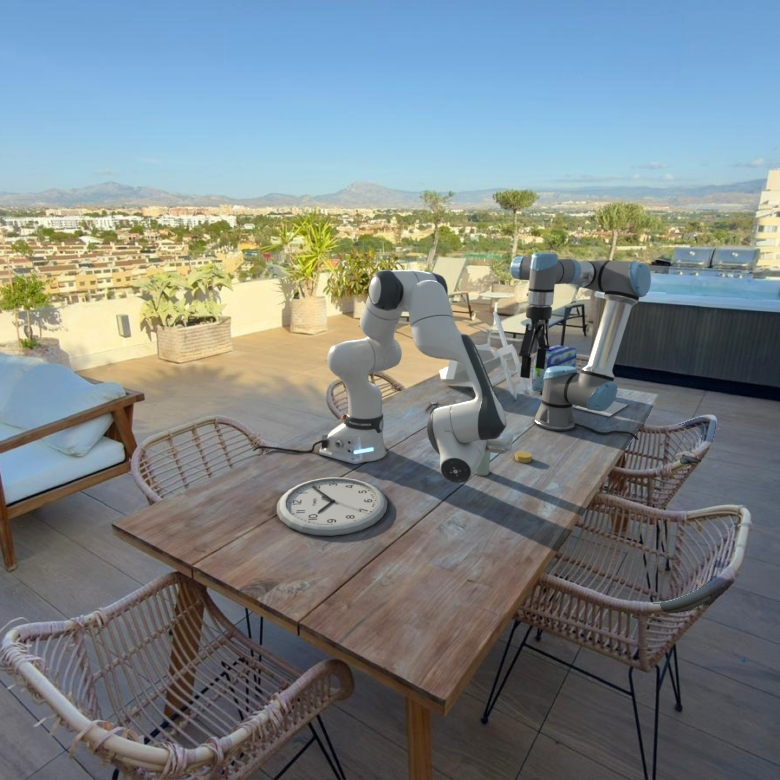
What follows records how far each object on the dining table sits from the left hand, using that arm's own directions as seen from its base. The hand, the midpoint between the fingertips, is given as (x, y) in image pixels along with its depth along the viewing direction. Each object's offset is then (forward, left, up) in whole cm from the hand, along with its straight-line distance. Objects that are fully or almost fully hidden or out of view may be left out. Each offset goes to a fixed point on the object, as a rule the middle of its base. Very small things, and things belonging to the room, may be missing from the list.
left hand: (478, 427), depth 147 cm
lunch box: (+16, +111, -19) cm, 114 cm away
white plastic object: (-15, +95, -19) cm, 98 cm away
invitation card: (+38, +94, -19) cm, 104 cm away
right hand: (+12, +27, +10) cm, 31 cm away
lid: (+11, +27, -18) cm, 34 cm away
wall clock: (-35, -23, -19) cm, 46 cm away
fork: (-31, +67, -19) cm, 76 cm away
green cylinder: (0, +12, -19) cm, 23 cm away
